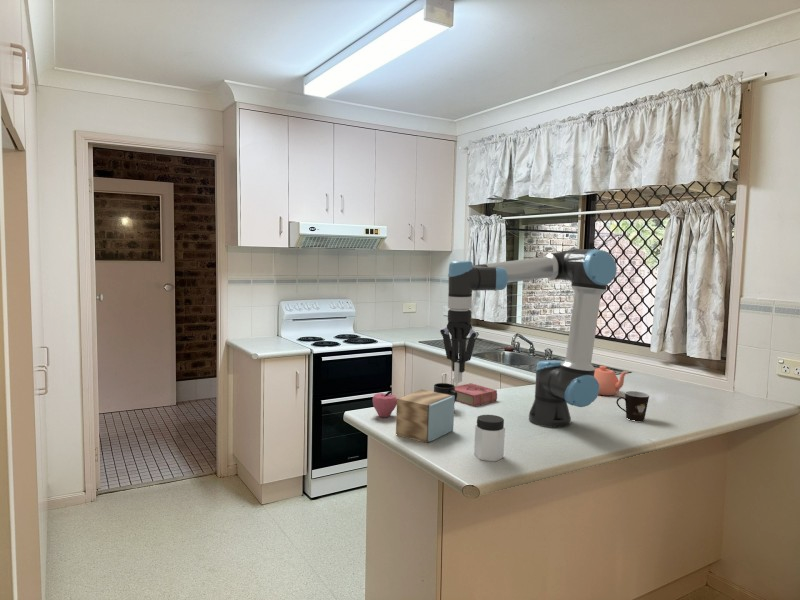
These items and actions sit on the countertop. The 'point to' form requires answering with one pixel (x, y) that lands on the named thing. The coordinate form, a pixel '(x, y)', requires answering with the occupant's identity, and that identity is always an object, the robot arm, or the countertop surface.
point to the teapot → (608, 381)
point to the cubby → (415, 414)
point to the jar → (489, 438)
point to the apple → (384, 403)
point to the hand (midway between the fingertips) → (458, 381)
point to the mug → (445, 389)
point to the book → (475, 394)
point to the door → (441, 418)
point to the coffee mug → (635, 405)
